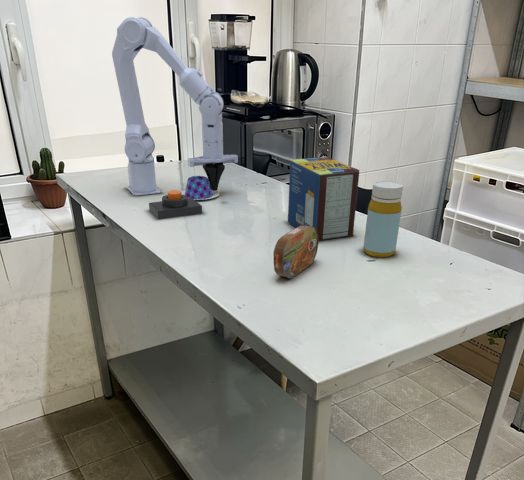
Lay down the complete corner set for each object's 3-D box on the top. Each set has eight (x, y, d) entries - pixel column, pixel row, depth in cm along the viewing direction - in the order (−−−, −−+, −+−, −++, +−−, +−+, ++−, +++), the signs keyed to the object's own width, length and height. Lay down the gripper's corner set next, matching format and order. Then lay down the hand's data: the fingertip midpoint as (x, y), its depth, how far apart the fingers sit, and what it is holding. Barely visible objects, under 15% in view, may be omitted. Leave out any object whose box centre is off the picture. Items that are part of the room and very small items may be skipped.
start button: (170, 201, 139) (169, 194, 138) (166, 197, 142) (165, 191, 141) (183, 199, 141) (183, 193, 140) (179, 196, 143) (178, 189, 142)
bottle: (376, 260, 116) (385, 190, 109) (356, 249, 122) (364, 182, 114) (401, 255, 119) (412, 186, 111) (381, 245, 125) (390, 178, 117)
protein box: (322, 217, 141) (327, 156, 133) (353, 236, 129) (360, 170, 121) (286, 222, 138) (289, 159, 130) (315, 242, 126) (319, 173, 118)
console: (158, 219, 138) (156, 204, 136) (149, 210, 144) (147, 195, 142) (202, 213, 142) (201, 198, 140) (191, 205, 149) (191, 191, 146)
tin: (283, 284, 105) (285, 243, 101) (269, 280, 106) (270, 239, 102) (318, 260, 116) (321, 221, 112) (305, 257, 117) (307, 219, 113)
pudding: (222, 201, 153) (221, 182, 150) (179, 203, 150) (178, 184, 148) (216, 190, 163) (216, 172, 160) (176, 191, 160) (175, 173, 158)
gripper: (193, 145, 145) (195, 195, 152) (242, 141, 150) (242, 190, 158) (184, 140, 150) (187, 189, 157) (232, 137, 156) (232, 184, 163)
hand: (214, 189), depth 158 cm, fingers closed
